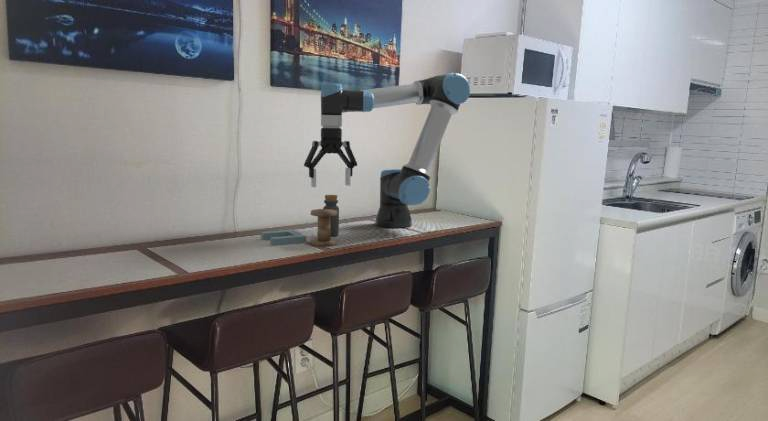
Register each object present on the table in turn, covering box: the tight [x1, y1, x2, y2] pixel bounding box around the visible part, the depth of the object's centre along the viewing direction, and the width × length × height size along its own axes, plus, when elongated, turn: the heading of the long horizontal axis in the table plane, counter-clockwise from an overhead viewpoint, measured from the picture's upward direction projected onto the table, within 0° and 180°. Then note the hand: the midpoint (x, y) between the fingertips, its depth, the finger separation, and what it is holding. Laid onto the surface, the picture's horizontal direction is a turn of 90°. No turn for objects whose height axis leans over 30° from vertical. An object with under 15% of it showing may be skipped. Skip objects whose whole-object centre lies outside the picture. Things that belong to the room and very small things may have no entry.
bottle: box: [322, 194, 340, 238], centre depth 201 cm, size 6×6×15 cm
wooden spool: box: [310, 208, 338, 247], centre depth 187 cm, size 9×9×11 cm
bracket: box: [260, 229, 308, 247], centre depth 191 cm, size 12×13×2 cm
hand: (331, 186), depth 199 cm, fingers open, 13 cm apart
